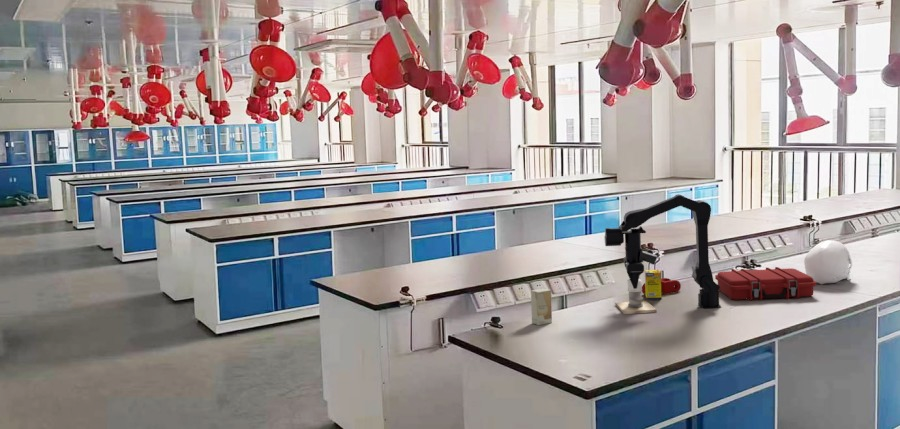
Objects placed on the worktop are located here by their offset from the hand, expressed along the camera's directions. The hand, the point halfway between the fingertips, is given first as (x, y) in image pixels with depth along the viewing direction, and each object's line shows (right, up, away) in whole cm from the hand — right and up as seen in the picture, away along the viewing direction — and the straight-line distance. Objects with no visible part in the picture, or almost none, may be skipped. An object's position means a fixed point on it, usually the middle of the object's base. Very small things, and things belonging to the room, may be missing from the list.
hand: (634, 285), depth 277 cm
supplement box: (+12, -7, +16) cm, 21 cm away
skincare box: (-36, -13, -11) cm, 40 cm away
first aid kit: (+54, -5, +12) cm, 56 cm away
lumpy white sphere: (+88, -1, +26) cm, 91 cm away
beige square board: (+1, -9, +1) cm, 9 cm away
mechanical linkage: (+16, -6, +24) cm, 30 cm away
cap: (0, -2, 0) cm, 2 cm away
